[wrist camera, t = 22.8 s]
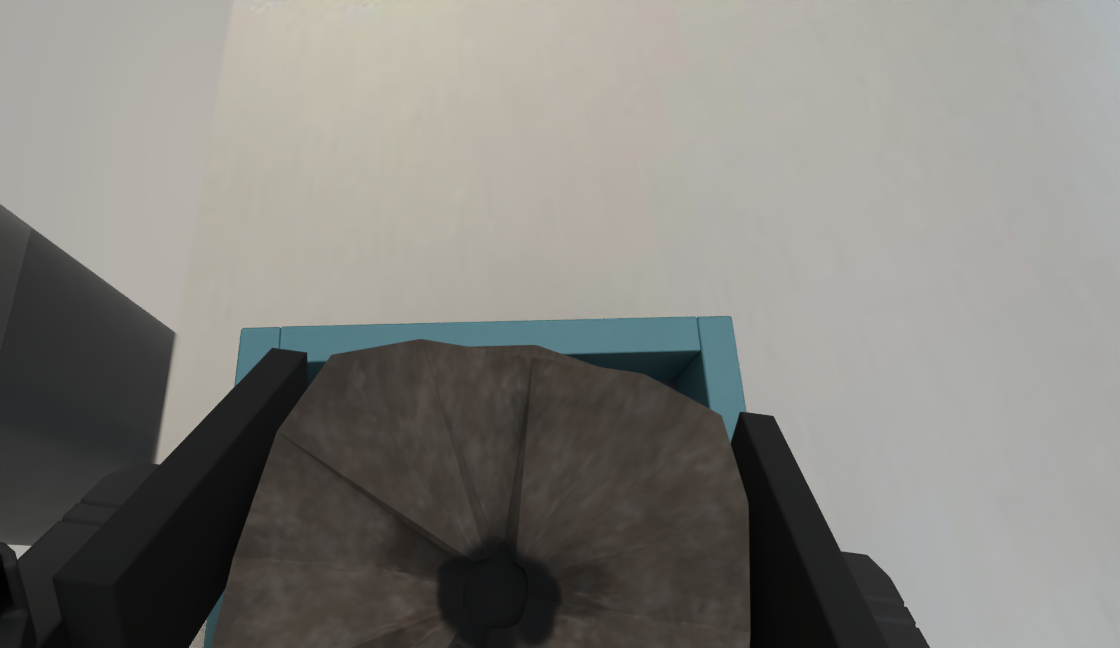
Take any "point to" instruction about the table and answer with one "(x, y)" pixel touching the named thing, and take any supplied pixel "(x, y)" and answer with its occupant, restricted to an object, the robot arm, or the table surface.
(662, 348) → the blue square open box
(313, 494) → the cloth sack
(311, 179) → the table surface
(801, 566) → the robot arm
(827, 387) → the table surface
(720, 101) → the table surface
